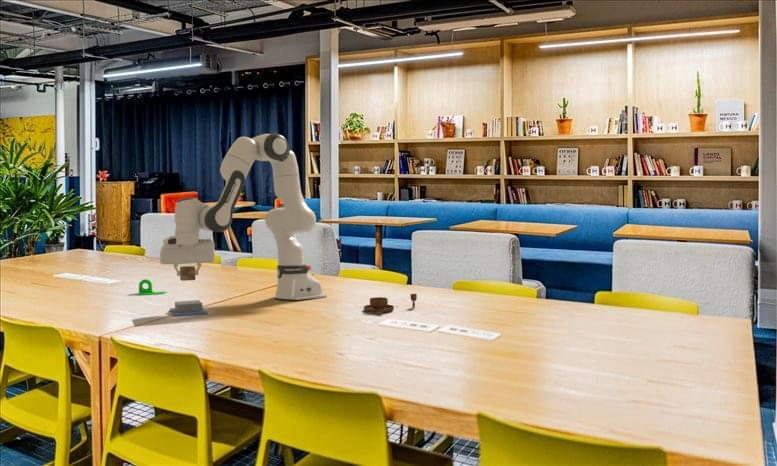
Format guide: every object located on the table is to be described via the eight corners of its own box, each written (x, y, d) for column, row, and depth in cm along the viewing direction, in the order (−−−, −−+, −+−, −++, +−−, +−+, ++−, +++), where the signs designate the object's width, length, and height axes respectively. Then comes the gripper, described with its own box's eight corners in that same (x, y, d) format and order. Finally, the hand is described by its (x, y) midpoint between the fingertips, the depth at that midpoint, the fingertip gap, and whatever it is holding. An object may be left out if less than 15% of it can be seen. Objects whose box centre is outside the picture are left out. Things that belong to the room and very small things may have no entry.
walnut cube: (193, 278, 260) (193, 266, 260) (195, 280, 255) (195, 267, 255) (180, 279, 258) (179, 266, 257) (181, 280, 253) (181, 267, 253)
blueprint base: (201, 308, 267) (201, 298, 267) (207, 314, 252) (207, 304, 252) (170, 310, 262) (169, 300, 262) (174, 316, 247) (174, 306, 247)
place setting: (369, 306, 270) (369, 292, 270) (418, 308, 266) (417, 293, 266) (358, 314, 253) (358, 298, 253) (410, 315, 249) (410, 299, 249)
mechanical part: (137, 298, 298) (137, 280, 297) (139, 296, 303) (139, 279, 303) (165, 297, 300) (165, 279, 300) (167, 295, 306) (166, 278, 306)
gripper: (213, 238, 263) (213, 273, 264) (158, 239, 255) (159, 275, 255) (216, 239, 257) (216, 274, 258) (160, 240, 249) (161, 277, 249)
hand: (187, 275), depth 256 cm, fingers closed on walnut cube, 5 cm apart
